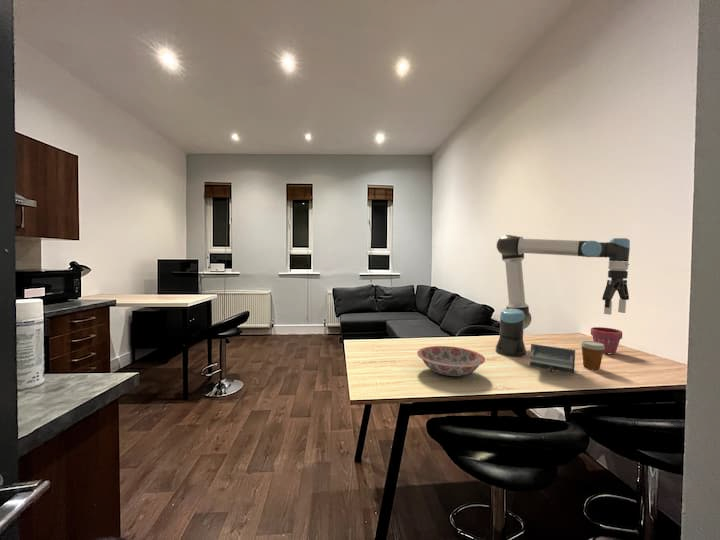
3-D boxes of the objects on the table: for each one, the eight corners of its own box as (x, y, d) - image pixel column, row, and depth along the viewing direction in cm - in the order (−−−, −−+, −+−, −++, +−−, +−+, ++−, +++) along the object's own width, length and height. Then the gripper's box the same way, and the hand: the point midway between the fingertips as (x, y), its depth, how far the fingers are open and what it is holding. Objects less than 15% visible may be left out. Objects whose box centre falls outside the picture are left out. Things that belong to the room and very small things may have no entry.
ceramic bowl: (490, 388, 131) (491, 368, 130) (415, 381, 136) (416, 362, 136) (479, 364, 159) (479, 348, 159) (417, 359, 165) (418, 343, 165)
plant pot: (583, 348, 191) (584, 327, 191) (604, 348, 194) (605, 326, 193) (606, 356, 177) (607, 332, 177) (627, 355, 180) (629, 332, 179)
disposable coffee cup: (608, 371, 153) (610, 346, 152) (587, 371, 153) (589, 345, 153) (594, 365, 162) (595, 340, 162) (575, 364, 163) (576, 340, 162)
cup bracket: (526, 374, 148) (527, 352, 147) (530, 362, 164) (531, 342, 164) (574, 383, 138) (575, 359, 137) (574, 369, 155) (575, 348, 154)
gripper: (613, 270, 152) (610, 316, 153) (639, 270, 164) (636, 313, 165) (595, 269, 158) (592, 313, 159) (621, 269, 170) (618, 310, 171)
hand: (614, 313), depth 162 cm, fingers open, 13 cm apart
